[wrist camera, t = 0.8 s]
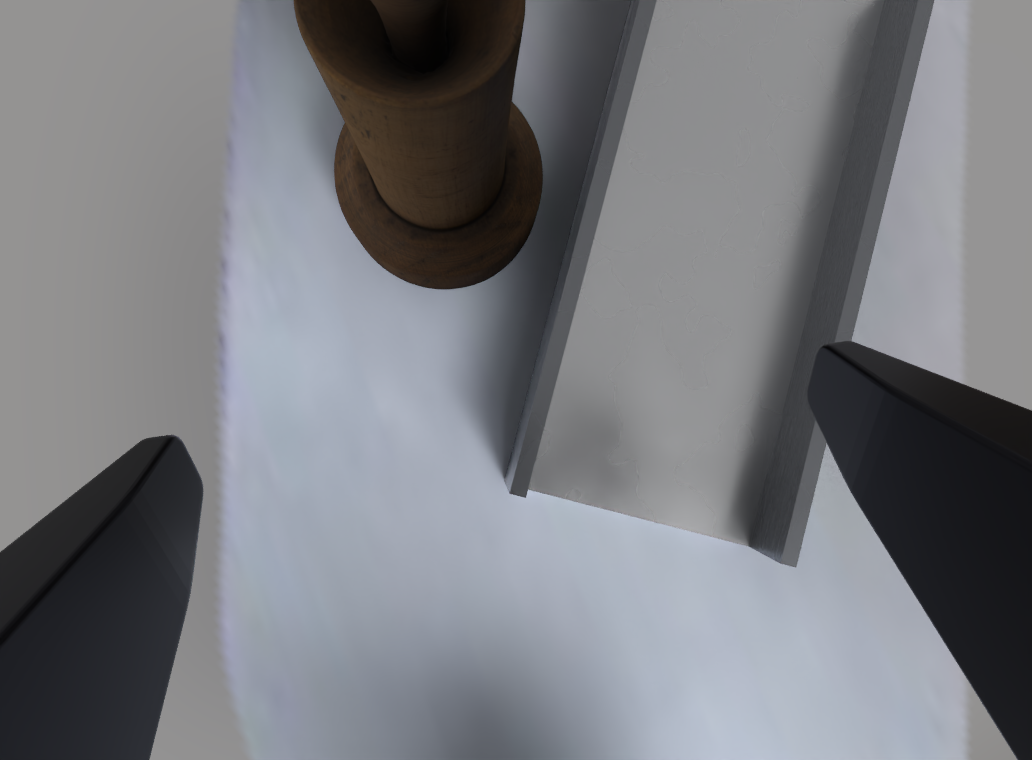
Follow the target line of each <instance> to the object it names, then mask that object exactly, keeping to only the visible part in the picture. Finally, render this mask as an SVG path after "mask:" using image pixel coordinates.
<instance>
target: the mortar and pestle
mask: <svg viewBox="0 0 1032 760" xmlns="http://www.w3.org/2000/svg"><path fill="white" fill-rule="evenodd" d="M294 8H295V14H296V19H297V23H298V27H299V30H300V33H301V35H302V38H303V40H304V42H305V44H306V46H307V48H308V50H309V52H310V54H311V56H312V58H313V60H314V62H315V64H316V66H317V68H318V70H319V72H320V74H321V76H322V78H323V80H324V82H325V84H326V86H327V88H328V90H329V91H330V93H331V95H332V97H333V99H334V101H335V103H336V105H337V107H338V109H339V111H340V113H341V115H342V117H343V119H344V121H345V124H344V126H343V128H342V131H341V133H340V136H339V140H338V143H337V148H336V154H335V163H334V176H335V187H336V192H337V196H338V200H339V204H340V207H341V210H342V212H343V214H344V217H345V219H346V221H347V223H348V225H349V226H350V228H351V230H352V231H353V233H354V234H355V236H356V237H357V238H358V240H359V241H360V243H361V244H362V245H363V247H364V248H365V250H366V251H367V252H368V253H369V254H370V256H371V257H372V258H373V259H374V260H375V261H376V262H377V263H378V264H380V265H381V266H382V267H383V268H384V269H386V270H387V271H389V272H390V273H392V274H393V275H395V276H397V277H398V278H400V279H402V280H404V281H407V282H409V283H412V284H415V285H418V286H422V287H426V288H433V289H456V288H463V287H467V286H471V285H475V284H477V283H480V282H482V281H485V280H487V279H489V278H490V277H492V276H494V275H495V274H497V273H498V272H500V271H501V270H502V269H503V268H505V267H506V266H507V265H508V264H509V263H510V262H511V261H512V260H513V259H514V258H515V256H516V255H517V254H518V253H519V251H520V250H521V248H522V247H523V245H524V244H525V242H526V240H527V238H528V236H529V234H530V232H531V230H532V227H533V224H534V221H535V218H536V214H537V211H538V208H539V204H540V200H541V194H542V184H543V171H542V161H541V155H540V151H539V147H538V144H537V141H536V138H535V136H534V133H533V131H532V129H531V127H530V126H529V124H528V122H527V120H526V119H525V117H524V116H523V114H522V113H521V112H520V110H519V109H518V108H517V107H516V106H515V105H514V104H513V103H512V94H513V87H514V79H515V72H516V67H517V60H518V55H519V48H520V43H521V36H522V29H523V23H524V16H525V0H294Z"/></svg>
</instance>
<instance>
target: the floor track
mask: <svg viewBox="0 0 1032 760" xmlns="http://www.w3.org/2000/svg"><path fill="white" fill-rule="evenodd" d="M933 3H934V0H632V1H631V4H630V8H629V12H628V16H627V20H626V23H625V27H624V31H623V35H622V38H621V42H620V46H619V50H618V53H617V57H616V61H615V65H614V69H613V72H612V76H611V80H610V84H609V87H608V91H607V95H606V99H605V102H604V106H603V110H602V114H601V118H600V121H599V125H598V129H597V133H596V136H595V140H594V144H593V148H592V152H591V155H590V159H589V163H588V167H587V170H586V174H585V178H584V182H583V185H582V189H581V193H580V197H579V201H578V204H577V208H576V212H575V216H574V219H573V223H572V227H571V231H570V234H569V238H568V242H567V246H566V250H565V253H564V257H563V261H562V265H561V268H560V272H559V276H558V280H557V283H556V287H555V291H554V295H553V299H552V302H551V306H550V310H549V314H548V317H547V321H546V325H545V329H544V333H543V336H542V340H541V344H540V348H539V351H538V355H537V359H536V363H535V366H534V370H533V374H532V378H531V382H530V385H529V389H528V393H527V397H526V400H525V404H524V408H523V412H522V415H521V419H520V423H519V427H518V431H517V434H516V438H515V442H514V446H513V449H512V453H511V457H510V461H509V465H508V468H507V472H506V476H505V480H504V481H505V483H506V486H507V489H508V491H509V493H510V494H513V495H517V496H521V497H525V498H526V495H527V491H528V489H529V490H533V491H536V492H540V493H544V494H548V495H552V496H556V497H560V498H563V499H567V500H571V501H575V502H579V503H583V504H587V505H590V506H594V507H598V508H602V509H606V510H610V511H614V512H618V513H621V514H625V515H629V516H633V517H637V518H641V519H645V520H648V521H652V522H656V523H660V524H664V525H668V526H672V527H675V528H679V529H683V530H687V531H691V532H695V533H699V534H703V535H706V536H710V537H714V538H718V539H722V540H726V541H730V542H733V543H737V544H741V545H745V546H749V547H751V548H753V549H755V550H757V551H758V552H760V553H762V554H764V555H766V556H768V557H770V558H771V559H773V560H775V561H777V562H779V563H781V564H785V565H789V566H792V567H796V566H797V562H798V558H799V553H800V549H801V545H802V541H803V537H804V533H805V529H806V525H807V521H808V516H809V512H810V508H811V504H812V500H813V496H814V492H815V488H816V484H817V480H818V475H819V471H820V467H821V463H822V459H823V455H824V451H825V447H826V443H827V442H826V440H825V438H824V436H823V434H822V432H821V430H820V428H819V426H818V423H817V421H816V419H815V417H814V415H813V413H812V411H811V409H810V406H809V403H808V399H807V389H808V385H809V381H810V377H811V373H812V369H813V365H814V361H815V357H816V354H817V351H818V349H819V348H820V347H821V346H823V345H824V344H829V343H836V342H843V341H851V340H852V336H853V332H854V328H855V324H856V319H857V315H858V311H859V307H860V303H861V299H862V295H863V291H864V287H865V282H866V278H867V274H868V270H869V266H870V262H871V258H872V254H873V250H874V246H875V241H876V237H877V233H878V229H879V225H880V221H881V217H882V213H883V209H884V204H885V200H886V196H887V192H888V188H889V184H890V180H891V176H892V172H893V168H894V163H895V159H896V155H897V151H898V147H899V143H900V139H901V135H902V131H903V126H904V122H905V118H906V114H907V110H908V106H909V102H910V98H911V94H912V89H913V85H914V81H915V77H916V73H917V69H918V65H919V61H920V57H921V53H922V48H923V44H924V40H925V36H926V32H927V28H928V24H929V20H930V16H931V11H932V7H933Z"/></svg>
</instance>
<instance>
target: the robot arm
mask: <svg viewBox="0 0 1032 760" xmlns="http://www.w3.org/2000/svg"><path fill="white" fill-rule="evenodd" d="M807 399H808V403H809V406H810V409H811V411H812V413H813V415H814V417H815V419H816V421H817V423H818V426H819V428H820V430H821V432H822V434H823V436H824V438H825V440H826V442H827V444H828V446H829V449H830V451H831V453H832V455H833V457H834V459H835V461H836V463H837V465H838V467H839V470H840V472H841V474H842V476H843V478H844V480H845V482H846V484H847V486H848V487H849V489H850V491H851V493H852V495H853V496H854V498H855V500H856V501H857V503H858V505H859V507H860V508H861V510H862V511H863V513H864V515H865V516H866V518H867V519H868V521H869V523H870V524H871V526H872V527H873V529H874V531H875V532H876V534H877V535H878V537H879V539H880V540H881V542H882V543H883V545H884V547H885V548H886V550H887V551H888V553H889V555H890V556H891V558H892V559H893V561H894V563H895V564H896V566H897V567H898V569H899V571H900V572H901V574H902V575H903V577H904V579H905V580H906V582H907V583H908V585H909V587H910V588H911V590H912V591H913V593H914V595H915V596H916V598H917V599H918V601H919V603H920V604H921V606H922V607H923V609H924V611H925V612H926V614H927V615H928V617H929V619H930V620H931V622H932V624H933V625H934V627H935V628H936V630H937V632H938V633H939V635H940V636H941V638H942V640H943V641H944V643H945V644H946V646H947V648H948V649H949V651H950V652H951V654H952V656H953V657H954V659H955V660H956V662H957V664H958V665H959V667H960V668H961V670H962V672H963V673H964V675H965V676H966V678H967V680H968V681H969V683H970V684H971V686H972V688H973V689H974V691H975V692H976V694H977V695H978V697H979V699H980V700H981V702H982V704H983V705H984V707H985V708H986V710H987V712H988V713H989V715H990V716H991V718H992V720H993V721H994V723H995V724H996V726H997V728H998V729H999V731H1000V732H1001V734H1002V736H1003V737H1004V739H1005V740H1006V742H1007V743H1008V745H1009V746H1010V748H1011V750H1012V752H1013V753H1014V755H1015V756H1016V758H1017V760H1032V411H1031V410H1029V409H1026V408H1024V407H1021V406H1018V405H1016V404H1013V403H1011V402H1008V401H1006V400H1003V399H1000V398H998V397H995V396H992V395H990V394H987V393H985V392H982V391H980V390H977V389H974V388H972V387H969V386H967V385H964V384H961V383H959V382H956V381H954V380H951V379H948V378H946V377H943V376H941V375H938V374H936V373H933V372H930V371H928V370H925V369H923V368H920V367H917V366H915V365H912V364H910V363H907V362H904V361H902V360H899V359H897V358H894V357H891V356H889V355H886V354H884V353H881V352H878V351H876V350H873V349H871V348H868V347H866V346H863V345H860V344H858V343H855V342H852V341H843V342H836V343H829V344H824V345H823V346H821V347H820V348H819V349H818V351H817V354H816V357H815V361H814V365H813V369H812V373H811V377H810V381H809V385H808V389H807ZM202 500H203V484H202V480H201V477H200V475H199V473H198V471H197V469H196V467H195V465H194V463H193V461H192V459H191V457H190V455H189V453H188V451H187V449H186V447H185V445H184V443H183V442H182V440H181V439H180V438H179V437H177V436H175V435H166V436H159V437H152V438H146V439H144V440H142V441H140V442H139V443H138V444H136V445H135V446H134V447H133V448H131V449H130V450H129V451H128V452H126V453H125V454H124V455H122V456H121V457H120V458H119V459H117V460H116V461H115V462H114V463H112V464H111V465H110V466H109V467H107V468H106V469H105V470H103V471H102V472H101V473H100V474H98V475H97V476H96V477H95V478H93V479H92V480H91V481H90V482H89V483H87V484H86V485H85V486H83V487H82V488H81V489H79V490H78V491H77V492H76V493H74V494H73V495H72V496H71V497H69V498H68V499H67V500H66V501H65V502H63V503H62V504H61V505H59V506H58V507H57V508H55V509H54V510H53V511H52V512H50V513H49V514H48V515H47V516H45V517H44V518H43V519H42V520H40V521H39V522H38V523H36V524H35V525H34V526H33V527H32V528H31V529H29V530H28V531H26V532H25V533H24V534H23V535H21V536H20V537H19V538H18V539H16V540H15V541H14V542H13V543H11V544H10V545H9V546H7V547H6V548H5V549H4V550H2V551H1V552H0V760H149V759H150V755H151V751H152V747H153V743H154V739H155V735H156V731H157V727H158V722H159V719H160V715H161V711H162V707H163V703H164V699H165V695H166V691H167V687H168V683H169V679H170V674H171V671H172V667H173V663H174V659H175V655H176V651H177V647H178V643H179V639H180V635H181V631H182V627H183V623H184V619H185V615H186V611H187V606H188V602H189V598H190V593H191V586H192V580H193V572H194V564H195V556H196V548H197V540H198V532H199V524H200V516H201V508H202Z"/></svg>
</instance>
